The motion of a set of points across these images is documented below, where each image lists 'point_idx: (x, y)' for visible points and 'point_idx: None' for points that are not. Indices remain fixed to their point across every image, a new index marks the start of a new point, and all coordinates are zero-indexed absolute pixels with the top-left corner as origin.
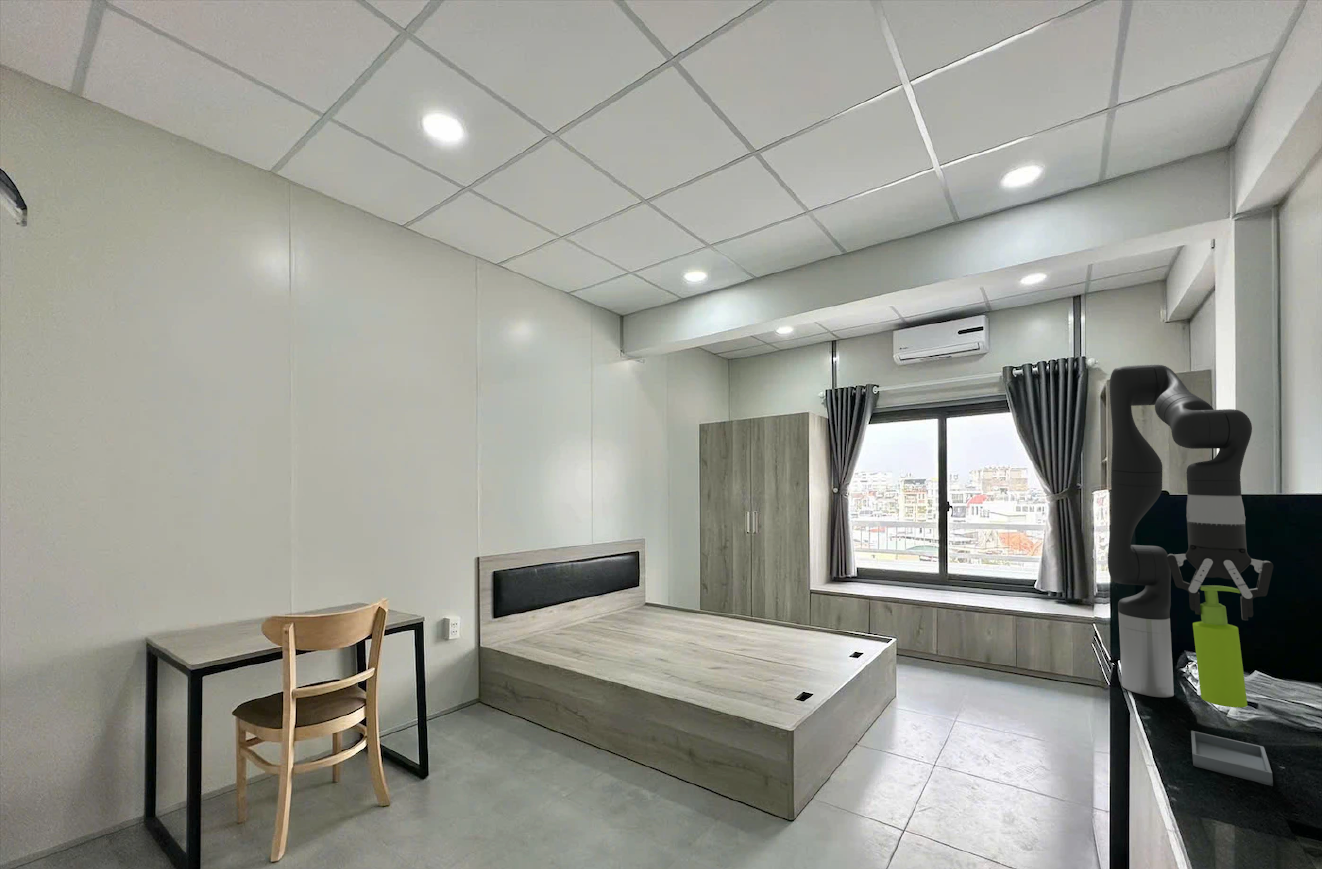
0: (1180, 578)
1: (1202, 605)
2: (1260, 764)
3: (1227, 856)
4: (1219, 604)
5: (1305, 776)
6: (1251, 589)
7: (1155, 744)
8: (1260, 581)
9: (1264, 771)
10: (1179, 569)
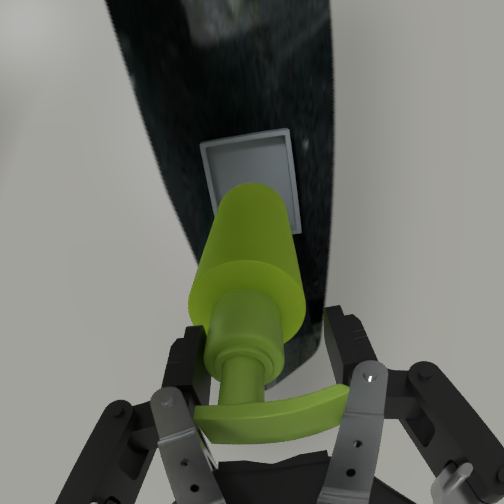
0: (142, 469)
1: (217, 380)
2: (285, 172)
3: (273, 385)
4: (267, 375)
5: (328, 157)
6: (390, 407)
7: (170, 199)
8: (423, 454)
9: (294, 233)
10: (118, 487)
